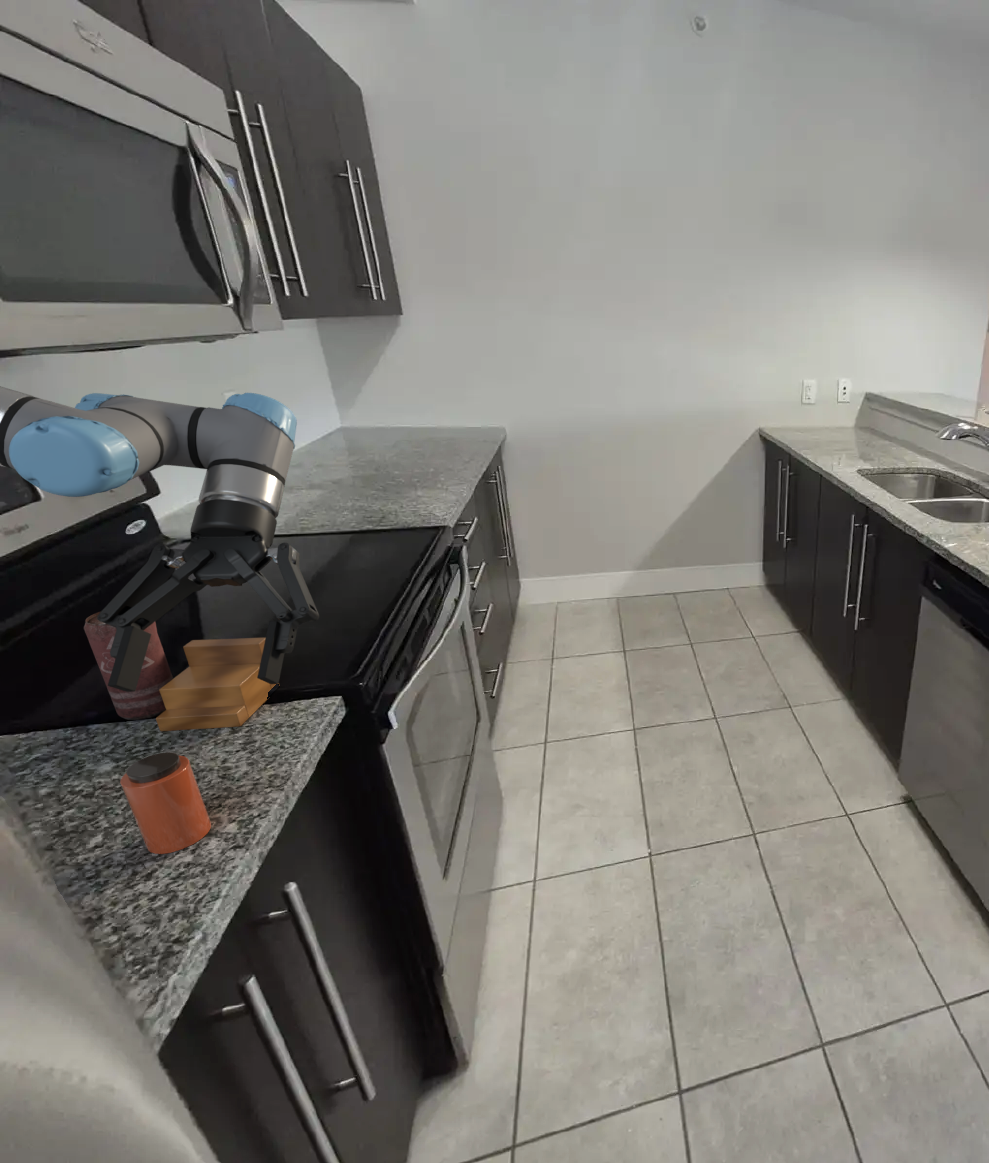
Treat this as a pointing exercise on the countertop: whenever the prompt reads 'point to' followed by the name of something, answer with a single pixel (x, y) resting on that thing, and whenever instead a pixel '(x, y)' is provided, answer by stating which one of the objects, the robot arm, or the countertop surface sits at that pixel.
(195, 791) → the spice jar
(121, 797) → the countertop surface
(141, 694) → the can
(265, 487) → the robot arm
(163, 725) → the wooden stair steps
